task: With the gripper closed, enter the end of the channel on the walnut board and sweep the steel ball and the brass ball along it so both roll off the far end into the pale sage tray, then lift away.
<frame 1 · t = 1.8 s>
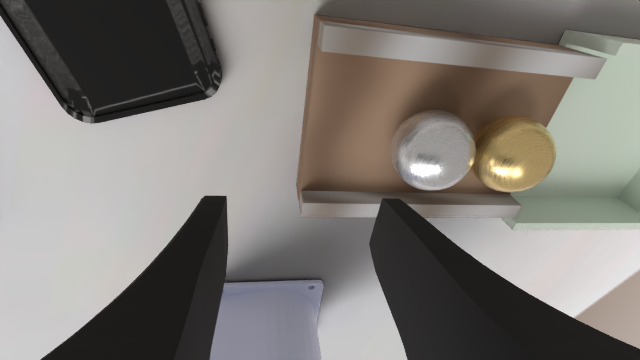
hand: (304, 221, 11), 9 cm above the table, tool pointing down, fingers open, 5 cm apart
steel ball: (431, 150, 16), point 4 cm above the table, touching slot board
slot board: (418, 119, 20), on the table
sage tray: (593, 131, 22), on the table
brass ball: (509, 154, 17), point 4 cm above the table, touching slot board
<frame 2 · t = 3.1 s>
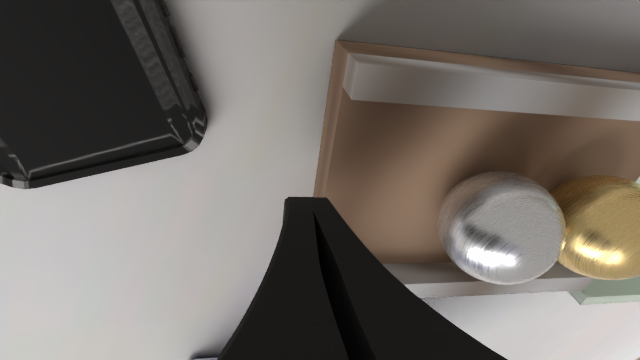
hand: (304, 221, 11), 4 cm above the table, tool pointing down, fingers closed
steel ball: (496, 226, 12), point 4 cm above the table, touching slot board
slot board: (464, 169, 15), on the table
brass ball: (598, 226, 13), point 4 cm above the table, touching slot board
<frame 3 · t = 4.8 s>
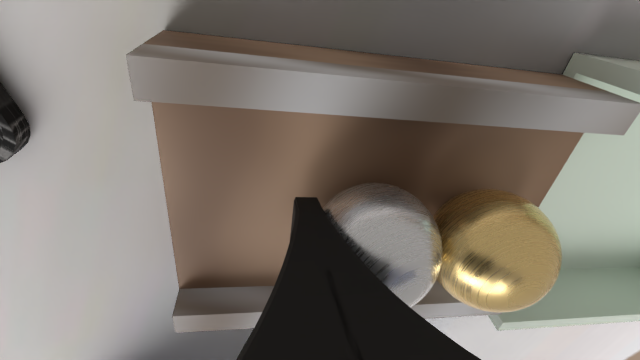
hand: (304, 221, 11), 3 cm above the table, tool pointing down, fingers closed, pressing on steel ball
steel ball: (374, 246, 10), point 4 cm above the table, tilted 14°, touching gripper, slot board
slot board: (358, 180, 14), on the table
sage tray: (610, 188, 16), on the table
brass ball: (487, 248, 11), point 4 cm above the table, touching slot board
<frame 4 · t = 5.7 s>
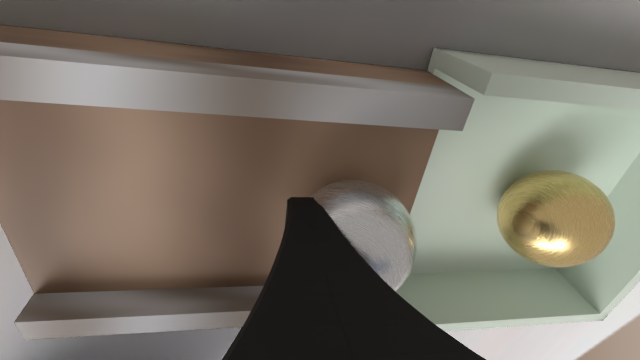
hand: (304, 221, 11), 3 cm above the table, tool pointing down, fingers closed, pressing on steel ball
steel ball: (352, 241, 11), point 4 cm above the table, tilted 148°, touching gripper, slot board
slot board: (231, 179, 13), on the table
sage tray: (509, 188, 16), on the table
brass ball: (550, 217, 14), point 2 cm above the table, tilted 74°, touching sage tray
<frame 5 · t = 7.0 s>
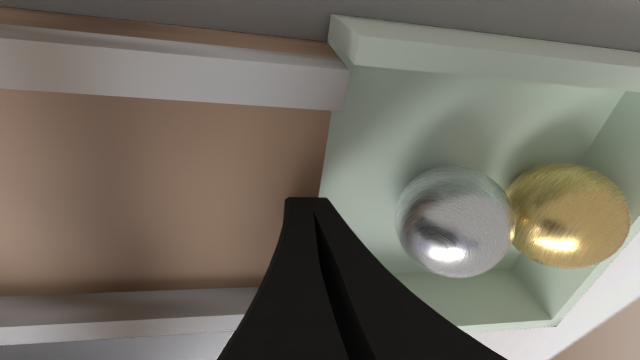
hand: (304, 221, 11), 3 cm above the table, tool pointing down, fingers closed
steel ball: (451, 220, 12), point 2 cm above the table, tilted 43°, touching sage tray
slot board: (113, 171, 11), on the table
sage tray: (447, 180, 14), on the table
brass ball: (559, 214, 12), point 2 cm above the table, tilted 21°, touching sage tray
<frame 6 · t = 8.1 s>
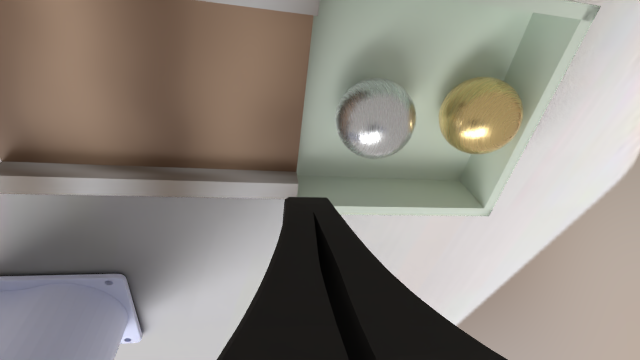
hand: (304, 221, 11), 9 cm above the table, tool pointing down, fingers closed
steel ball: (374, 119, 16), point 2 cm above the table, tilted 80°, touching sage tray
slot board: (160, 77, 16), on the table
sage tray: (403, 98, 19), on the table
brass ball: (478, 116, 17), point 2 cm above the table, tilted 18°, touching sage tray
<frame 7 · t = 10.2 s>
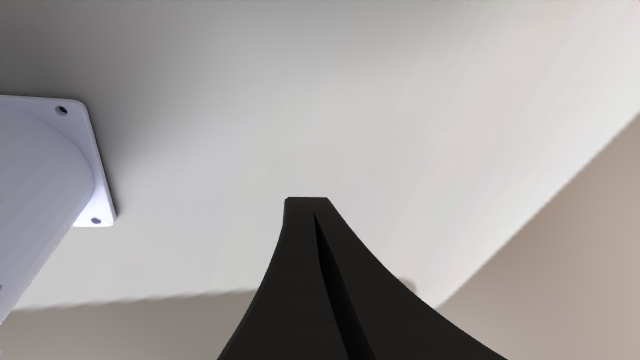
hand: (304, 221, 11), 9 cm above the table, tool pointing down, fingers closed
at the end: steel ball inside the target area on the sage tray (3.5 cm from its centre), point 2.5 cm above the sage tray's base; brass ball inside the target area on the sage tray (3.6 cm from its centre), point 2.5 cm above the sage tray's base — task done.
